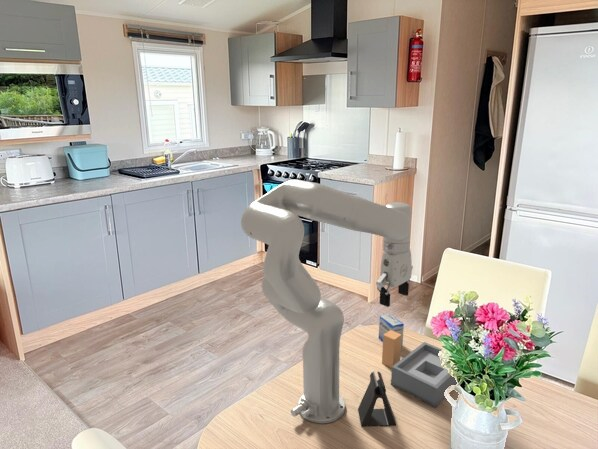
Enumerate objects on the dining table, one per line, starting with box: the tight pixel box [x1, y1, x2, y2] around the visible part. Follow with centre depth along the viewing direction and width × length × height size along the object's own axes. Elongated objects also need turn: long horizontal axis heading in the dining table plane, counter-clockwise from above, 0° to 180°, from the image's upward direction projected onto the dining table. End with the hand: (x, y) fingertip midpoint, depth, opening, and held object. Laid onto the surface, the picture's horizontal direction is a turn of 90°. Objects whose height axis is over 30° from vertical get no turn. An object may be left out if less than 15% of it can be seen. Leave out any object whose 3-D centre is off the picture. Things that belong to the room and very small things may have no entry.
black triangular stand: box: [357, 371, 397, 428], centre depth 111 cm, size 9×6×12 cm, turn 90°
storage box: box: [390, 341, 457, 408], centre depth 126 cm, size 18×14×6 cm
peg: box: [381, 330, 402, 369], centre depth 134 cm, size 4×4×10 cm
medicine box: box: [378, 313, 405, 347], centre depth 146 cm, size 8×4×9 cm, turn 25°
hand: (394, 299), depth 129 cm, fingers open, 9 cm apart
